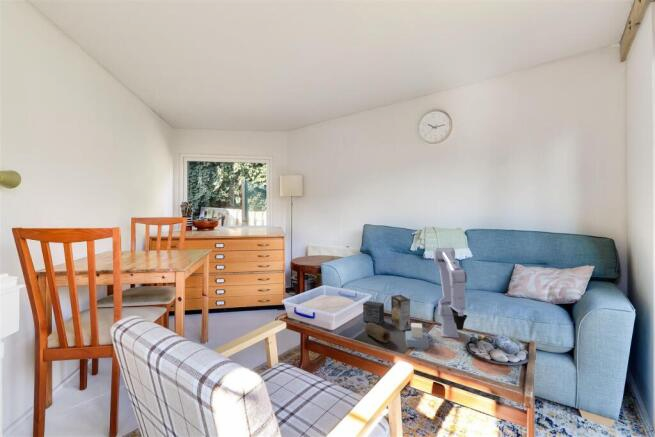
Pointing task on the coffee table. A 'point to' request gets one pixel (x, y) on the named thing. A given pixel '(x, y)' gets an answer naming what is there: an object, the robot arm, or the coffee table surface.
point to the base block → (417, 340)
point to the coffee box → (400, 312)
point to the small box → (373, 312)
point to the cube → (416, 330)
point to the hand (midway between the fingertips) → (458, 326)
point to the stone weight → (377, 332)
